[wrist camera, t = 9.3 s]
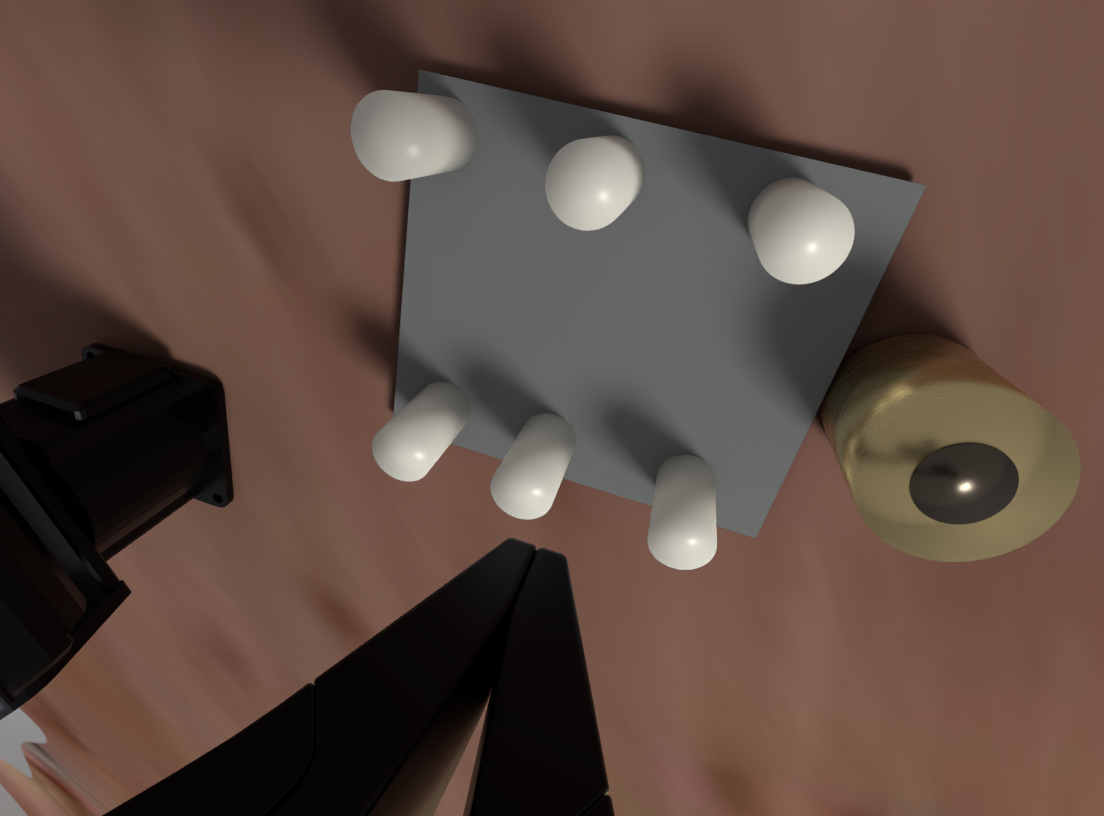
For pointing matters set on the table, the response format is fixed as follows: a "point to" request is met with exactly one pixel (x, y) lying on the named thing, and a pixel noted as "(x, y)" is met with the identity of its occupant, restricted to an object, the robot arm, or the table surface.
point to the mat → (631, 300)
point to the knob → (946, 450)
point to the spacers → (585, 204)
